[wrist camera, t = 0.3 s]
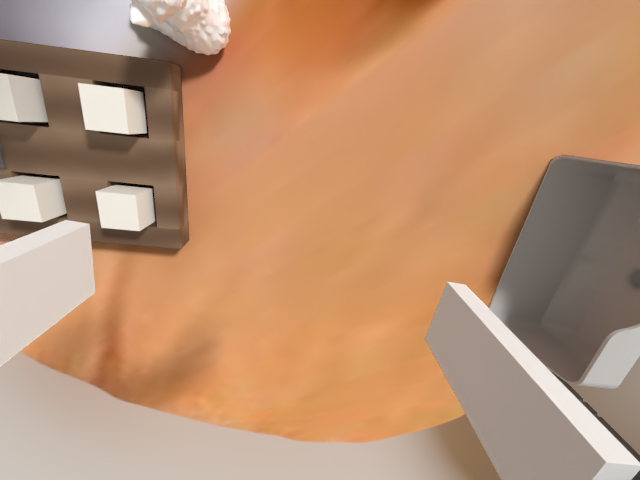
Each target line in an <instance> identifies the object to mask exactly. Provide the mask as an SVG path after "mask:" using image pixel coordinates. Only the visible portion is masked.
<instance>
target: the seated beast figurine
mask: <svg viewBox="0 0 640 480" xmlns="http://www.w3.org/2000/svg"><path fill="white" fill-rule="evenodd" d="M131 1H132V3H130V19H131V22H132V23H133V24H136V25H139V26H143V27H147V28H148V27H151V28H152V29H154V30H158V31H160V32H161V33H162V34H164V35H167V36H168V37H170V38H172V39H173V40H174V41H176V42H178V43H179V44H181V45H183V46H186V47H187V49H188V50H192V51H194V52H195V53H203V54H205V55H210V54H217V53H219V51H220V50H221V49H222V48H225V47H226V45H227V43H229V39H228V37H229V35H230V33H231V29H230V18H229V13H228V10H227V6H226V5H225V3H224V0H131Z"/></svg>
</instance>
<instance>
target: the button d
mask: <svg viewBox="0 0 640 480" xmlns="http://www.w3.org/2000/svg"><path fill="white" fill-rule="evenodd" d="M95 192H96V198H97V204H98V210H99V217H100V223H101V228H109V229H120V230H131V231H141V230H143V229H144V228H146V227H147V226H149V225H150V224H152V223H153V222H155V213H154V202H153V191H152V188H144V187H134V186H124V185H113V186H110V187H107V188H104V189H101V190H98V191H95Z"/></svg>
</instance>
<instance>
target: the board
mask: <svg viewBox="0 0 640 480" xmlns="http://www.w3.org/2000/svg"><path fill="white" fill-rule="evenodd" d="M12 72H20V73H28V74H36V75H39V79H40V84H41V89H42V94H43V99H44V104H45V109H46V114H47V118H48V123H49V125H46V124H37V123H28V122H15V121H6V120H0V179H4V178H10V177H16V176H21V175H25V176H35V177H36V174H43V175H53V176H59V177H60V182H61V187H62V192H63V197H64V202H65V207H66V212H67V213H66V214H64V215H61V216H58V217H56V218H53V219H50V220H47V221H45V222H32V221H21V220H10V219H2V217H1V213H0V233H4V234H16V235H29V234H31V233H34V232H36V231H39V230H41V229H44V228H46V227H49V226H52V225H54V224H57V223H59V222H62V221H64V220H69V221H76V222H82V223H88V224H90V234H91V241H96V242H107V243H119V244H130V245H142V246H153V247H165V248H176V249H180V248H181V247H182V246H184V245H185V244H186V243H187V242H188V241H189V223H188V204H187V184H186V164H185V144H184V124H183V104H182V84H181V67H180V66H178V65H175V64H173V63H171V62H168V61H161V60H153V59H146V58H138V57H131V56H123V55H115V54H108V53H100V52H92V51H85V50H77V49H70V48H62V47H54V46H47V45H39V44H31V43H24V42H16V41H9V40H1V39H0V73H2V74H10V75H13V73H12ZM78 83H83V84H91V85H100V86H108V87H111V84H116V85H124V86H132V87H141V88H145V99H146V110H147V121H148V132H149V136H143V135H134V134H121V133H112V132H103V131H95V130H86V129H85V124H84V118H83V112H82V106H81V100H80V94H79V88H78ZM123 183H132V184H142V185H152V186H153V187H154V198H155V209H156V219H155V222H153V223H152V224H150V225H149V226H147V227H146V228H144V229H143V230H141V231H131V230H120V229H109V228H101V223H100V217H99V210H98V204H97V198H96V192H95V191H98V190H101V189H104V188H107V187H110V186H113V185H124V184H123Z"/></svg>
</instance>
